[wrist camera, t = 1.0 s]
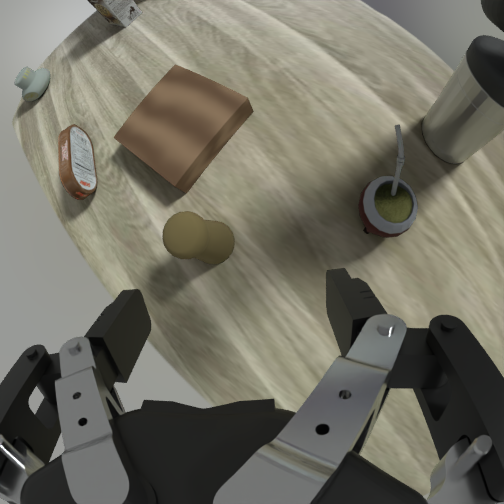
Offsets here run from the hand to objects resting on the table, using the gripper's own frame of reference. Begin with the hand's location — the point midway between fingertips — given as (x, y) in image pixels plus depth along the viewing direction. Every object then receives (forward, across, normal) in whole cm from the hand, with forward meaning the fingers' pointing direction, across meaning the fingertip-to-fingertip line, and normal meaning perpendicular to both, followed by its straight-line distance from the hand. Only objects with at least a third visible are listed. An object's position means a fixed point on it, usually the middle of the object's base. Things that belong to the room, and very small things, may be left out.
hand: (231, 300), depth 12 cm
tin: (+38, +29, -8) cm, 48 cm away
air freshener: (+56, +55, -37) cm, 87 cm away
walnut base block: (+36, +9, -10) cm, 38 cm away
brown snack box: (+57, +27, -48) cm, 79 cm away
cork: (+27, +6, +7) cm, 29 cm away
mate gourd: (+25, -17, +4) cm, 30 cm away
